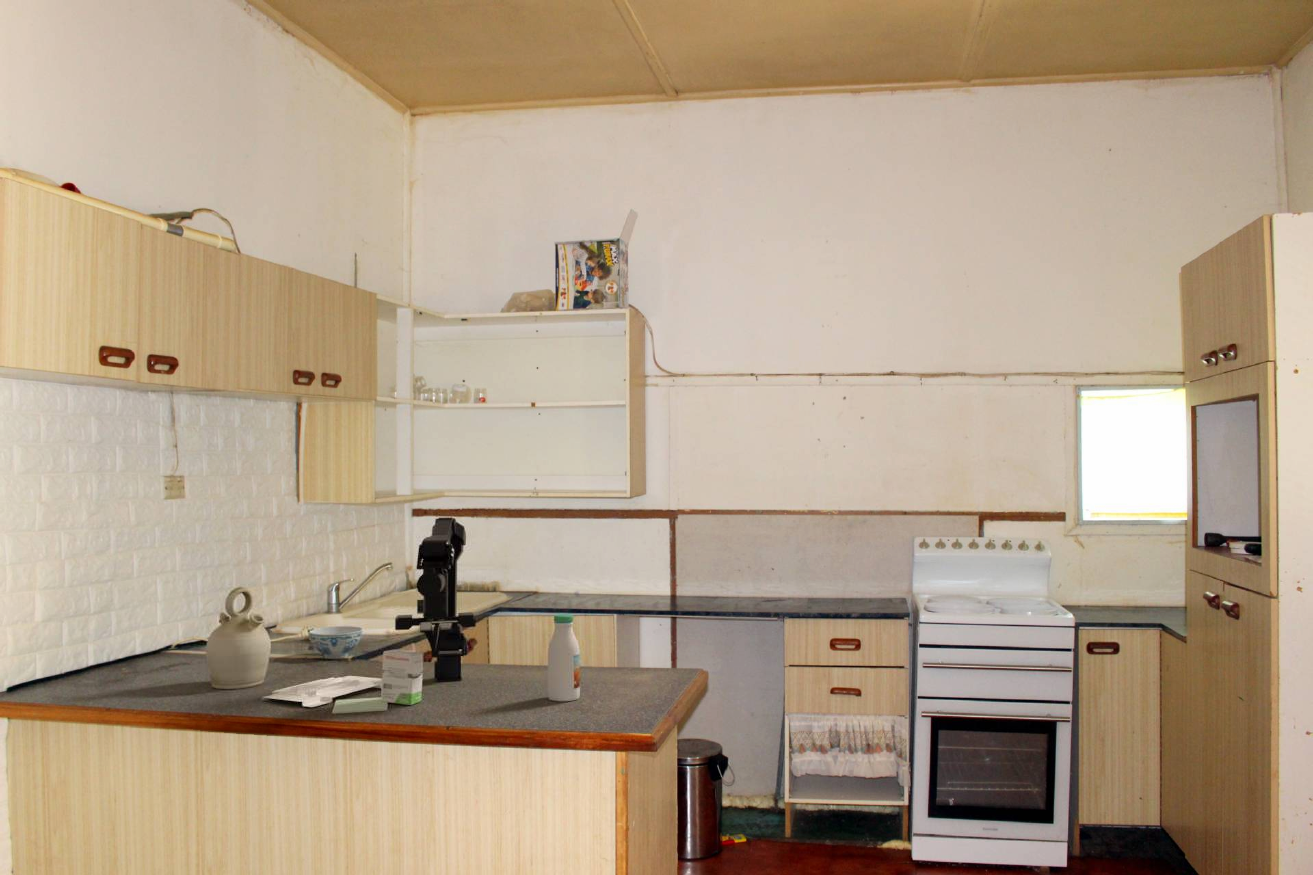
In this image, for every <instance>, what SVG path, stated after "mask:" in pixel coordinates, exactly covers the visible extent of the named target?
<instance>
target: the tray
mask: <svg viewBox="0 0 1313 875" xmlns="http://www.w3.org/2000/svg"><path fill="white" fill-rule="evenodd" d="M381 687H382V678H379V677H370V676H369V677H367V676H358V675H345V676H342V677H336V678H335V677H329V678H325V679H317V680H313V681H309V682H304V683H301V684H296V685H292V686H288V687H284V688H280V689H275V690H272V694H270V695H267V696H262V697H261V702H264V701H267V700H270V699H271V700H272V699H274V700H283V701H291V702H292V701H293V702H302V703H301V705H302V707H308V708H314V707H318V706H321V705H325V704H330V703H332V702H333V698H336V697H339V696H343V695H344V696H345V695H347V694H351V693H354V692H358V691H361V690H366V689H369V688H376V689H381Z"/></svg>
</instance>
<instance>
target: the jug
mask: <svg viewBox="0 0 1313 875" xmlns="http://www.w3.org/2000/svg"><path fill="white" fill-rule="evenodd" d="M240 594H242V595H243V596H244V599H245V600H244V606H243V607H242V609H241V610H239V611H236V610H235V606H234V604H235V600H236V598H237V597H238V596H239V595H240ZM253 604H254V597H253V594H252V592H251V591H250V590H249V589H248V588H246V587H243V586H239V587H235V588H234V589H232V590H230V592H229V593H228V594H227V597H226V599H225V603H224V607H225V612H226V613H227V614H226V613H225V612H223V611H222V612H220V614H219V619H218V623H220V625H218V626H217V627H216V628H215V629H214V630H212V632H211V633H210V635H209V637H208V639H207V642H206V647H205V655H206V656H205V657H206V664H207V669H208V674H209V679H210V682H211V687H212V688H214V689H220V690H236V689H237V690H238V689H241V690H242V689H246V688H252V687H256V686H259V685H261V684H263V683H264V681H265V678H266V677H265V676H266V673H267V669H268V666H269V662H270V655H271V650H272V649H271V647H272V646H271V644H272V643H271V642H272V641H271V637H270V636H269V633H268V631H267V629H266V628H265V627H264V626H263V625H262V624H264V622H265V618H264V616H262V615H260V614H258V613H251V614H249V613H250V611H251V610H252V607H253ZM248 614H249V617H248Z"/></svg>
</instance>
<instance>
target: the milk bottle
mask: <svg viewBox="0 0 1313 875" xmlns="http://www.w3.org/2000/svg"><path fill="white" fill-rule="evenodd" d="M553 621H554V623H553V624H554V631H553V634H552V637H551V639H550V642H549V644H548V648H547V698H548V700H549V701H552V702H573V701H577V700H578V699H580V696H581V679H580V678H581V668H580V666H581V664H580V663H581V662H580V661H581V660H580V659H581V656H580V655H581V654H580V647H579V642H578V640H577V637H576V635H575V633H574V628H573V624H574V614H569V613H559V614H555V615H554V617H553Z"/></svg>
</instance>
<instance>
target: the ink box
mask: <svg viewBox="0 0 1313 875" xmlns="http://www.w3.org/2000/svg"><path fill="white" fill-rule="evenodd" d="M423 666H424V652H420V651H412V650H405V649H404V650H403V649H391V650H390V649H389V650H385V651H383V654H382V670H381V672H382V673H381V679H382V687H381V688H380V689H381V691H380V697H381V701H383V702H388V703H390V704H391V703H392V704H399V705H407V706H411V705H415V704H418V703H420V702H422V695H423V692H422V691H423V670H424V669H423Z"/></svg>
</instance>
